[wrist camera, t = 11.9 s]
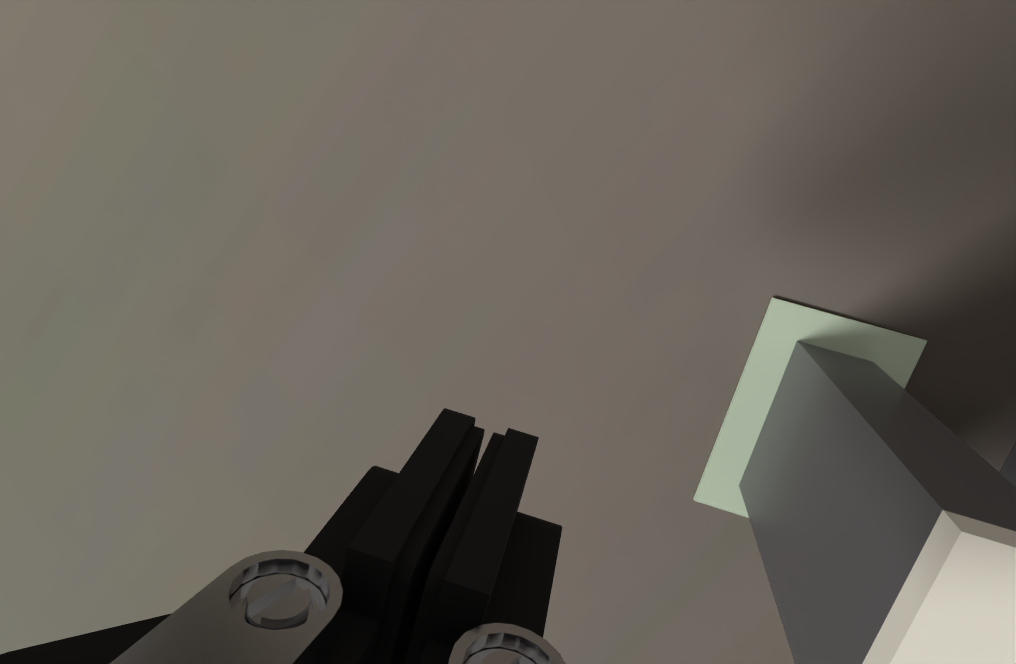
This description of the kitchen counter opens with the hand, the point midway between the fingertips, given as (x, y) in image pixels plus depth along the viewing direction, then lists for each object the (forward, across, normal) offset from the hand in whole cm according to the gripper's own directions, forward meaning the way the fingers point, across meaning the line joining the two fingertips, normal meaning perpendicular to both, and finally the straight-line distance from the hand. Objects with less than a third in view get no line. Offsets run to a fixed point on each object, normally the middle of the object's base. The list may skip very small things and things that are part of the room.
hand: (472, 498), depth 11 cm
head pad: (+10, -8, 0) cm, 13 cm away
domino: (+10, -8, +1) cm, 13 cm away
